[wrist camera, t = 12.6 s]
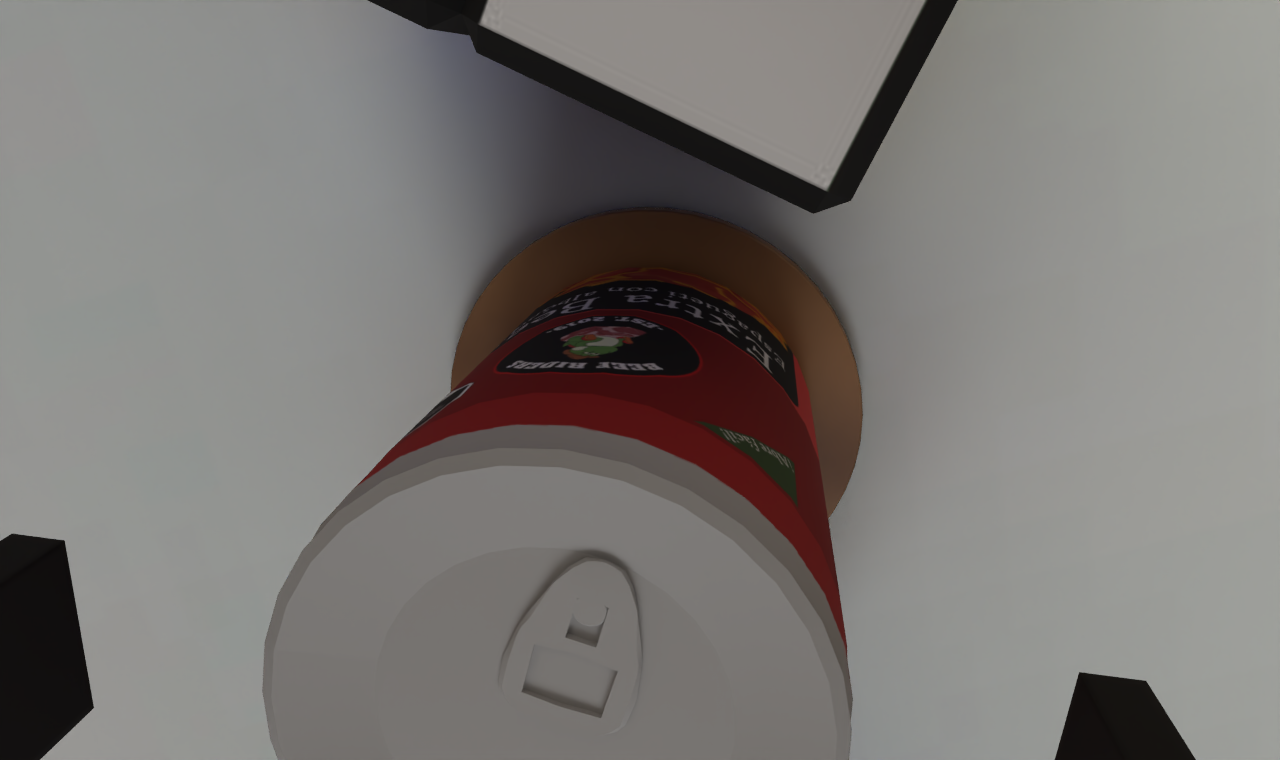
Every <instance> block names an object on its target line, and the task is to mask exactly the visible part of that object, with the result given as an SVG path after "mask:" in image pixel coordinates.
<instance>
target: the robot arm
mask: <svg viewBox="0 0 1280 760" xmlns="http://www.w3.org/2000/svg"><path fill="white" fill-rule="evenodd" d="M93 708H94V706H93V700H92V695H91V689H90V683H89V678H88V672H87V666H86V660H85V655H84V649H83V643H82V638H81V632H80V626H79V620H78V615H77V609H76V603H75V598H74V592H73V586H72V580H71V575H70V569H69V563H68V558H67V552H66V546H65V541H64V540H56V539H48V538H41V537H33V536H25V535H18V534H11V535H9V536H8V537H6V538H4V539H3V540H1V541H0V760H40V759H41V758H42V757H43V756H44V755H45V754H46V753H47V752H48V751H49V750H50V749H52V748H53V747H54V746H55V745H56V744H57V743H58V742H59V741H60V740H61V739H62V738H63V737H64V736H65V735H66V734H67V733H68V732H69V731H70V730H71V729H72V728H73V727H74V726H76V725H77V724H78V723H79V722H80V721H81V720H82V719H83V718H84V717H85V716H86V715H87V714H88V713H89V712H90V711H91V710H92V709H93ZM1055 760H1196V759H1195V758H1194V756H1193V755H1192V753H1191V751H1190V750H1189V748H1188V747H1187V745H1186V743H1185V742H1184V740H1183V739H1182V737H1181V736H1180V734H1179V732H1178V731H1177V729H1176V728H1175V726H1174V724H1173V723H1172V721H1171V720H1170V718H1169V717H1168V715H1167V713H1166V712H1165V710H1164V709H1163V707H1162V705H1161V704H1160V702H1159V701H1158V699H1157V698H1156V696H1155V694H1154V693H1153V691H1152V690H1151V688H1150V686H1149V685H1148V683H1147V682H1146V681H1142V680H1134V679H1127V678H1119V677H1111V676H1104V675H1096V674H1088V673H1080V672H1079V675H1078V679H1077V682H1076V686H1075V690H1074V693H1073V697H1072V700H1071V704H1070V707H1069V711H1068V715H1067V718H1066V722H1065V725H1064V729H1063V733H1062V736H1061V740H1060V743H1059V747H1058V751H1057V754H1056V758H1055Z"/></svg>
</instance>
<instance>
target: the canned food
mask: <svg viewBox="0 0 1280 760" xmlns="http://www.w3.org/2000/svg"><path fill="white" fill-rule="evenodd" d="M263 697H264V703H265V709H266V715H267V721H268V727H269V733H270V739H271V742H272V744H273V747H274V750H275V752H276V755H277V757H278V760H849V753H850V742H851V730H852V729H851V713H852V701H853V698H852V690H851V683H850V676H849V669H848V662H847V643H846V636H845V629H844V622H843V615H842V609H841V602H840V595H839V588H838V582H837V575H836V568H835V562H834V555H833V549H832V542H831V535H830V529H829V522H828V515H827V509H826V502H825V496H824V489H823V482H822V476H821V469H820V462H819V456H818V449H817V443H816V436H815V429H814V423H813V416H812V409H811V403H810V396H809V391H808V388H807V385H806V383H805V380H804V377H803V374H802V372H801V369H800V366H799V363H798V361H797V359H796V357H795V356H794V354H793V353H792V351H791V349H790V348H789V346H788V345H787V343H786V341H785V340H784V338H783V337H782V335H781V333H780V332H779V331H778V330H777V329H776V328H775V327H774V326H773V324H772V323H771V322H770V321H769V320H768V319H767V318H766V317H765V316H764V315H763V314H762V313H761V312H760V311H759V310H758V309H757V308H756V307H755V306H753V305H752V304H751V303H749V302H748V301H746V300H745V299H743V298H742V297H740V296H739V295H738V294H736V293H735V292H733V291H732V290H730V289H729V288H727V287H725V286H723V285H720V284H718V283H715V282H713V281H711V280H708V279H706V278H704V277H701V276H699V275H697V274H692V273H687V272H682V271H677V270H672V269H668V268H663V267H657V268H624V269H619V270H615V271H610V272H605V273H600V274H596V275H593V276H591V277H589V278H586V279H584V280H582V281H580V282H577V283H575V284H573V285H570V286H568V287H566V288H564V289H563V290H561V291H560V292H559V293H557V294H556V295H554V296H553V297H551V298H550V299H549V300H547V301H546V302H544V303H543V304H542V305H540V306H539V307H538V308H537V309H536V310H535V311H534V312H533V313H532V314H530V315H529V316H528V317H527V318H526V319H525V320H524V321H523V322H522V323H521V324H520V325H519V326H518V327H517V328H516V329H515V330H514V331H513V332H512V333H511V334H510V335H509V336H508V337H507V338H506V339H505V340H504V341H503V342H502V343H501V344H500V345H498V346H497V347H496V348H495V349H494V350H493V351H492V352H491V353H490V354H489V355H488V356H487V357H486V358H485V359H484V360H483V361H482V362H481V363H480V364H479V365H478V366H477V367H476V368H475V369H474V370H473V371H472V372H471V373H470V374H469V375H467V376H466V377H465V378H464V379H463V380H462V381H461V382H460V383H459V384H458V385H457V386H456V387H455V388H454V389H453V390H452V391H451V392H450V393H449V394H448V395H447V396H446V397H445V398H444V399H443V400H442V401H441V402H440V403H439V404H438V405H437V406H435V407H434V408H433V409H432V410H431V411H430V412H429V413H428V414H427V415H426V416H425V417H424V418H423V419H422V420H421V421H420V422H419V423H418V424H417V425H416V426H415V427H414V428H413V429H412V430H411V431H410V432H409V433H408V434H407V435H406V436H404V437H403V438H402V439H401V440H400V441H399V442H398V443H397V444H396V445H395V446H394V447H393V448H392V449H391V450H390V451H389V452H388V453H387V454H386V455H385V456H384V457H383V459H382V460H381V461H380V462H379V463H378V464H377V465H376V466H375V467H374V468H373V469H372V471H371V472H370V473H369V474H368V475H367V476H366V477H365V478H364V479H363V480H362V481H361V482H360V483H359V484H358V485H357V486H356V487H355V488H354V489H353V490H352V491H351V492H350V493H349V495H348V496H347V497H346V498H345V499H344V500H343V501H342V502H341V503H340V504H339V506H338V507H337V508H336V509H335V510H334V511H333V512H332V513H331V514H330V515H329V516H328V518H327V519H326V520H325V521H324V522H323V523H322V524H321V525H320V527H319V528H318V530H317V532H316V534H315V536H314V537H313V539H312V541H311V542H310V543H309V544H308V545H307V546H306V547H305V548H304V549H303V551H302V552H301V554H300V556H299V558H298V560H297V561H296V563H295V565H294V567H293V569H292V570H291V572H290V574H289V576H288V578H287V579H286V581H285V583H284V585H283V587H282V588H281V590H280V592H279V594H278V597H277V600H276V604H275V607H274V611H273V615H272V618H271V622H270V625H269V629H268V632H267V636H266V640H265V649H264V670H263Z"/></svg>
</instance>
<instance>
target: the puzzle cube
mask: <svg viewBox="0 0 1280 760" xmlns="http://www.w3.org/2000/svg"><path fill="white" fill-rule="evenodd" d="M368 1H370V2H372V3H374V4H377V5H379V6H381V7H383V8H385V9H387V10H389V11H391V12H393V13H395V14H397V15H400V16H402V17H404V18H406V19H408V20H410V21H412V22H414V23H416V24H418V25H420V26H422V27H425V28H427V29H432V30H439V31H445V32H452V33H458V34H465V35H470V37H471V40H472V42H473V45H474V47H475V50H476V52H477V53H479V54H481V55H483V56H485V57H487V58H489V59H491V60H493V61H496V62H498V63H500V64H502V65H504V66H506V67H508V68H510V69H512V70H514V71H516V72H519V73H521V74H523V75H525V76H527V77H529V78H531V79H533V80H535V81H537V82H539V83H542V84H544V85H546V86H548V87H550V88H552V89H554V90H556V91H558V92H560V93H562V94H565V95H567V96H569V97H571V98H573V99H575V100H577V101H579V102H581V103H583V104H585V105H587V106H590V107H592V108H594V109H596V110H598V111H600V112H602V113H604V114H606V115H608V116H610V117H613V118H615V119H617V120H619V121H621V122H623V123H625V124H627V125H629V126H631V127H633V128H636V129H638V130H640V131H642V132H644V133H646V134H648V135H650V136H652V137H654V138H656V139H658V140H661V141H663V142H665V143H667V144H669V145H671V146H673V147H675V148H677V149H679V150H681V151H684V152H686V153H688V154H690V155H692V156H694V157H696V158H698V159H700V160H702V161H704V162H707V163H709V164H711V165H713V166H715V167H717V168H719V169H721V170H723V171H725V172H727V173H730V174H732V175H734V176H736V177H738V178H740V179H742V180H744V181H746V182H748V183H750V184H752V185H755V186H757V187H759V188H761V189H763V190H765V191H767V192H769V193H771V194H773V195H775V196H778V197H780V198H782V199H784V200H786V201H788V202H790V203H792V204H794V205H796V206H798V207H801V208H803V209H805V210H807V211H809V212H811V213H813V214H814V213H817V212H819V211H822V210H825V209H828V208H831V207H834V206H837V205H839V204H842V203H845V202H848V201H851V199H852V198H853V196H854V194H855V192H856V190H857V188H858V186H859V184H860V183H861V181H862V179H863V177H864V175H865V173H866V171H867V169H868V168H869V166H870V164H871V162H872V160H873V158H874V156H875V154H876V153H877V151H878V149H879V147H880V145H881V143H882V141H883V139H884V138H885V136H886V134H887V132H888V130H889V128H890V126H891V124H892V123H893V121H894V119H895V117H896V115H897V113H898V111H899V109H900V108H901V106H902V104H903V102H904V100H905V98H906V96H907V94H908V93H909V91H910V89H911V87H912V85H913V83H914V81H915V79H916V78H917V76H918V74H919V72H920V70H921V68H922V66H923V64H924V63H925V61H926V59H927V57H928V55H929V53H930V51H931V49H932V48H933V46H934V44H935V42H936V40H937V38H938V36H939V34H940V33H941V31H942V29H943V27H944V25H945V23H946V21H947V19H948V18H949V16H950V14H951V12H952V10H953V8H954V6H955V4H956V3H957V1H958V0H368Z"/></svg>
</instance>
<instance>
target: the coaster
mask: <svg viewBox="0 0 1280 760" xmlns="http://www.w3.org/2000/svg"><path fill="white" fill-rule="evenodd" d="M657 267H663V268H668V269H672V270H677V271H682V272H687V273H692V274H697V275H699V276H701V277H704V278H706V279H708V280H711V281H713V282H715V283H718V284H720V285H723V286H725V287H727V288H729V289H730V290H732V291H733V292H735V293H736V294H738V295H739V296H740V297H742V298H743V299H745V300H746V301H748V302H749V303H751V304H752V305H753V306H755V307H756V308H757V309H758V310H759V311H760V312H761V313H762V314H763V315H764V316H765V317H766V318H767V319H768V320H769V321H770V322H771V323H772V324H773V326H774V327H775V328H776V329H777V330H778V331H779V332H780V333H781V335H782V337H783V338H784V340H785V341H786V343H787V345H788V346H789V348H790V349H791V351H792V353H793V354H794V356H795V357H796V359H797V361H798V363H799V366H800V369H801V372H802V374H803V377H804V380H805V383H806V385H807V388H808V391H809V396H810V403H811V409H812V416H813V423H814V429H815V436H816V443H817V449H818V456H819V462H820V469H821V476H822V482H823V489H824V496H825V502H826V509H827V515H828V518H829V517H830V515H831V514H832V513H833V511H834V510H835V508H836V506H837V504H838V502H839V501H840V499H841V497H842V495H843V494H844V492H845V490H846V487H847V485H848V482H849V480H850V477H851V475H852V472H853V469H854V467H855V463H856V459H857V454H858V450H859V446H860V441H861V430H862V418H863V411H862V394H861V385H860V380H859V376H858V371H857V366H856V361H855V358H854V355H853V353H852V350H851V347H850V344H849V341H848V339H847V336H846V333H845V331H844V329H843V327H842V325H841V323H840V321H839V319H838V317H837V316H836V314H835V312H834V310H833V308H832V307H831V305H830V304H829V302H828V301H827V300H826V298H825V297H824V295H823V294H822V292H821V291H820V290H819V288H818V287H817V285H816V284H815V283H814V282H813V281H812V280H811V279H810V278H809V277H808V276H807V275H806V274H805V273H804V272H803V271H802V270H801V268H800V267H799V266H798V265H797V264H795V263H794V262H793V261H792V260H790V259H789V258H788V257H787V256H786V255H784V254H783V253H782V252H781V251H779V250H778V249H777V248H776V247H774V246H773V245H771V244H769V243H768V242H766V241H764V240H763V239H761V238H760V237H758V236H756V235H755V234H753V233H751V232H749V231H747V230H745V229H743V228H740V227H738V226H736V225H734V224H731V223H729V222H727V221H725V220H721V219H718V218H715V217H711V216H708V215H704V214H701V213H697V212H692V211H685V210H679V209H672V208H652V207H637V208H628V209H620V210H611V211H607V212H603V213H599V214H595V215H591V216H588V217H584V218H581V219H579V220H576V221H574V222H572V223H569V224H567V225H564V226H562V227H559V228H557V229H556V230H554V231H552V232H550V233H549V234H547V235H545V236H544V237H542V238H540V239H538V240H537V241H535V242H534V243H532V244H531V245H530V246H528V247H527V248H526V249H524V250H523V251H522V252H521V253H519V254H518V255H517V256H516V257H514V258H513V259H512V260H510V261H509V263H508V264H507V265H506V266H505V267H504V268H503V269H502V270H501V271H500V272H499V273H498V274H497V275H496V276H495V277H494V278H493V279H492V280H491V282H490V283H489V285H488V286H487V287H486V289H485V290H484V292H483V293H482V294H481V296H480V297H479V299H478V300H477V302H476V304H475V305H474V307H473V309H472V311H471V313H470V315H469V317H468V319H467V321H466V323H465V325H464V328H463V331H462V334H461V337H460V339H459V342H458V345H457V349H456V354H455V359H454V364H453V368H452V378H451V391H452V390H453V389H454V388H455V387H456V386H457V385H458V384H459V383H460V382H461V381H462V380H463V379H464V378H465V377H466V376H467V375H469V374H470V373H471V372H472V371H473V370H474V369H475V368H476V367H477V366H478V365H479V364H480V363H481V362H482V361H483V360H484V359H485V358H486V357H487V356H488V355H489V354H490V353H491V352H492V351H493V350H494V349H495V348H496V347H497V346H498V345H500V344H501V343H502V342H503V341H504V340H505V339H506V338H507V337H508V336H509V335H510V334H511V333H512V332H513V331H514V330H515V329H516V328H517V327H518V326H519V325H520V324H521V323H522V322H523V321H524V320H525V319H526V318H527V317H528V316H529V315H530V314H532V313H533V312H534V311H535V310H536V309H537V308H538V307H539V306H540V305H542V304H543V303H544V302H546V301H547V300H549V299H550V298H551V297H553V296H554V295H556V294H557V293H559V292H560V291H561V290H563V289H564V288H566V287H568V286H570V285H573V284H575V283H577V282H580V281H582V280H584V279H586V278H589V277H591V276H593V275H596V274H600V273H605V272H610V271H615V270H619V269H624V268H657Z"/></svg>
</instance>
